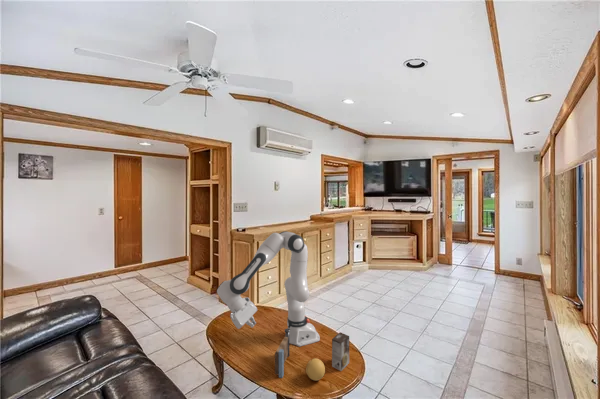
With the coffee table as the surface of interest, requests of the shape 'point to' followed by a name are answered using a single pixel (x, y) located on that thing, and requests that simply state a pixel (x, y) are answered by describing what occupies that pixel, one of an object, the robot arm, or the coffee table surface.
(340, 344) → the coffee box
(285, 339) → the wooden gate panel
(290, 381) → the coffee table surface
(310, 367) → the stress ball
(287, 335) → the hinge post
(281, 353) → the post
